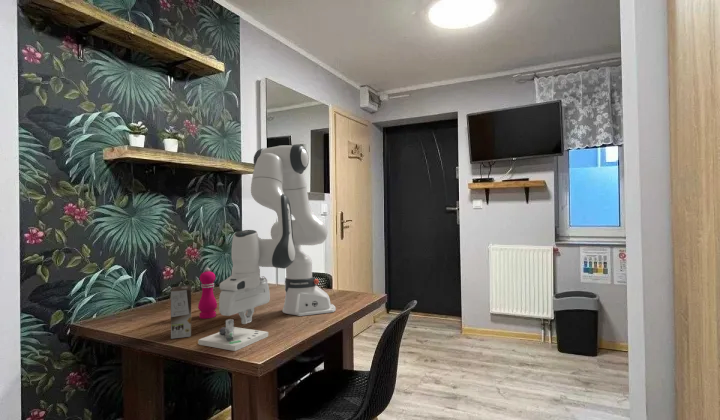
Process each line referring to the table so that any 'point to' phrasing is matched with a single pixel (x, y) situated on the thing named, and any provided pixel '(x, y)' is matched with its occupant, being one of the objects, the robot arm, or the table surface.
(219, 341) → the dial plate
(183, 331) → the coffee box
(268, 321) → the table surface
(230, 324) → the crank
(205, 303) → the pepper mill
